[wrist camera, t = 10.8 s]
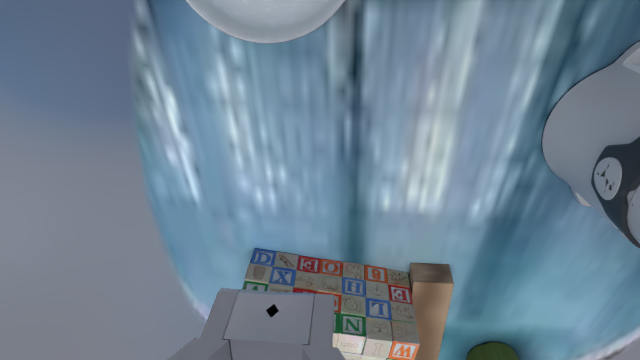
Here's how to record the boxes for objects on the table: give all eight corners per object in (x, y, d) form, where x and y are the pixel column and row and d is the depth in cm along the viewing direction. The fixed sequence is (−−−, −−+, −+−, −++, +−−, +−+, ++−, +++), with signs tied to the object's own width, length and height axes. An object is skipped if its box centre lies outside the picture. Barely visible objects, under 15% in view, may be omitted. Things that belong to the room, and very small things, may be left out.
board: (448, 262, 58) (453, 283, 54) (428, 359, 68) (432, 382, 65) (410, 261, 58) (413, 281, 55) (396, 357, 68) (399, 380, 65)
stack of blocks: (251, 280, 62) (230, 353, 51) (254, 246, 59) (232, 317, 48) (398, 303, 62) (407, 380, 51) (409, 271, 59) (421, 346, 48)
